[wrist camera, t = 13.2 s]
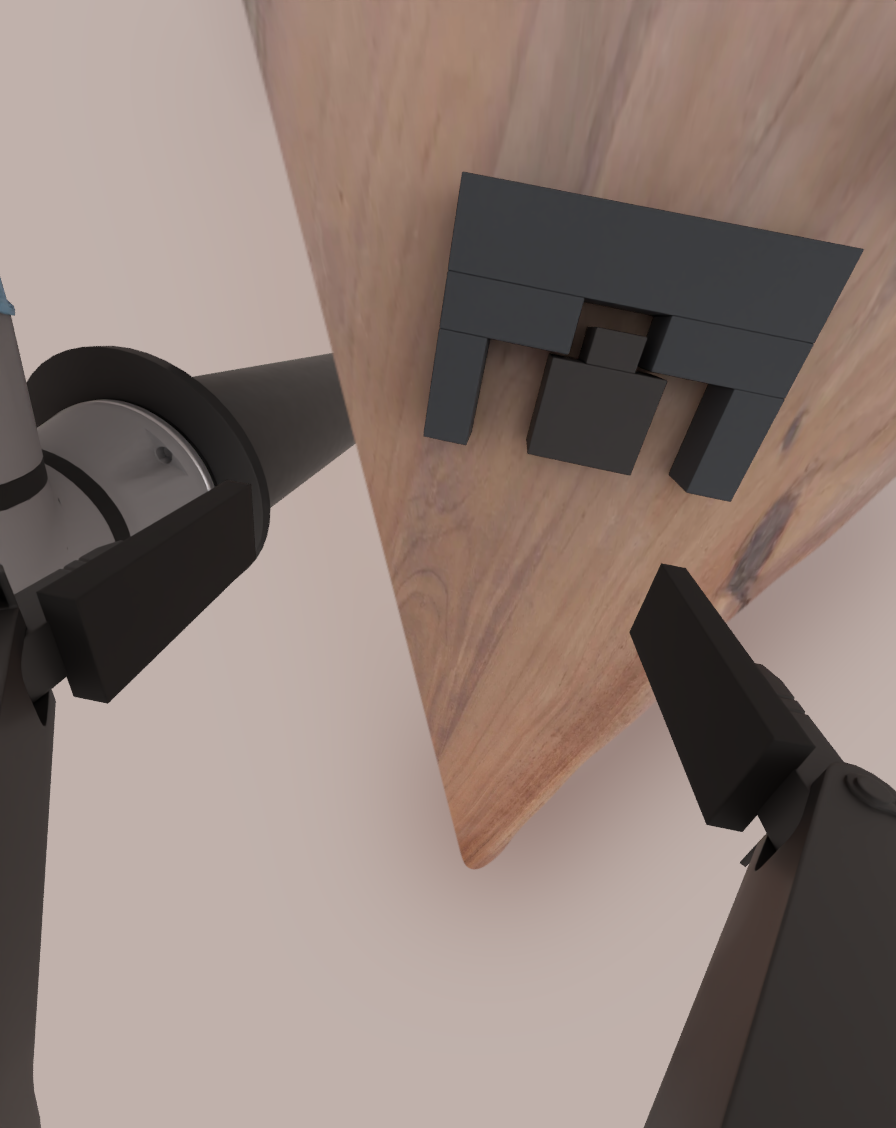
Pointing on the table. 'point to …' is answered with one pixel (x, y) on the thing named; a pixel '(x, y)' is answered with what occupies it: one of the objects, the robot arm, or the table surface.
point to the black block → (596, 404)
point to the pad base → (636, 307)
